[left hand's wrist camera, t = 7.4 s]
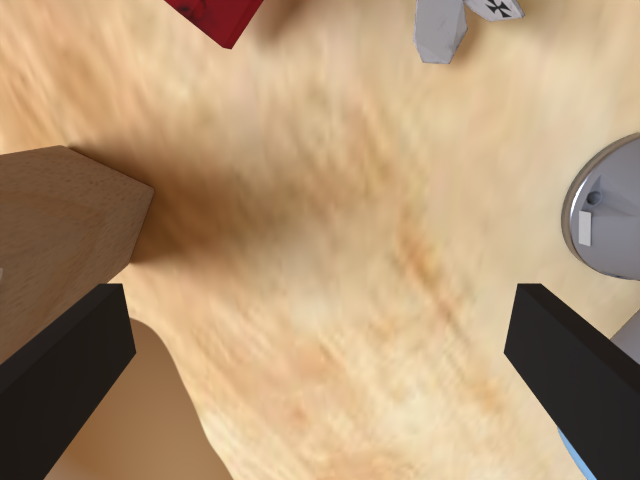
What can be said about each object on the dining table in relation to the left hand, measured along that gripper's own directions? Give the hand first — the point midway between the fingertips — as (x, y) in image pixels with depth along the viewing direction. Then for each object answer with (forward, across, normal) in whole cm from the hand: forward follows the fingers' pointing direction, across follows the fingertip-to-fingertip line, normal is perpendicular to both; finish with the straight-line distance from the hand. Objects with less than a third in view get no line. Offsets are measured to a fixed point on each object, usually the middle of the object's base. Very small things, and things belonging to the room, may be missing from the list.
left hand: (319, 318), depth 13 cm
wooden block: (+27, -24, -4) cm, 36 cm away
